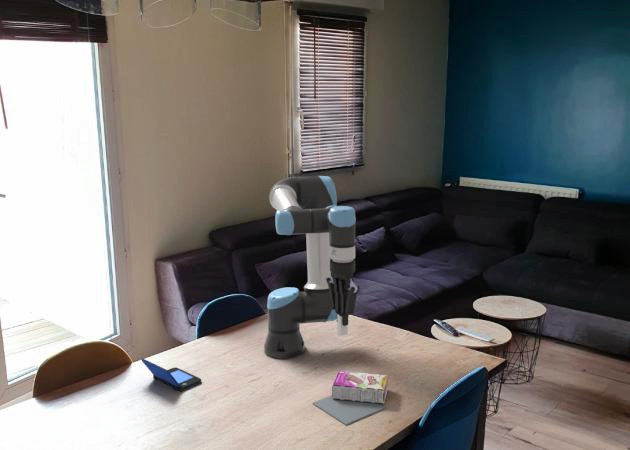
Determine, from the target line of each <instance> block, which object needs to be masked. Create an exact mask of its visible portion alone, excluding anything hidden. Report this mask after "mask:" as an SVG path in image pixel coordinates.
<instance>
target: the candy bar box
mask: <svg viewBox="0 0 630 450" xmlns="http://www.w3.org/2000/svg"><path fill="white" fill-rule="evenodd" d="M389 379H390V378H389V374H379V373H377V374H376V373H367V372H356V371H355V372H354V371H343V370H338V372H337V375H336V377H335V379H334V381H333V383H332V387H331V393H332V394H331V396H332V399H340V400H349V401H359V402H369V403H380V404H382V405H384V404H385V402H386V399H387V394H388V390H389Z"/></svg>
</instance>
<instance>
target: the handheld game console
mask: <svg viewBox="0 0 630 450" xmlns="http://www.w3.org/2000/svg"><path fill="white" fill-rule="evenodd" d="M141 361H142V363H143V364H144V365H145V366H146V368H147V369H148V370H149V371H150V373H151V374H152V375H153V379H154V380H155V381H158V382H159V383H162V384H165V385H168V387H169V388H171V389H173V390H175V391H177V392H180V393H181V392H182V391H183V392H184V391H185V390H187V389H190V388H193V387H194V386H196V385H199V384H200V383H202V378H200V377H198V376H196V375H194V374H191V373H189V372H188V371H185V370H183V369H182V368H180V367H172V368H170V369H166V368H163V367H162V366H159V365H158V364H155V363H154V362H151V361H149V360H147V359H146V358H142V359H141Z"/></svg>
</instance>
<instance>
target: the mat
mask: <svg viewBox="0 0 630 450" xmlns="http://www.w3.org/2000/svg"><path fill="white" fill-rule="evenodd" d="M312 405H314V406H315V407H316V408H318V409H319V410H321V411H323V412H324V413H326V414H327V415H329V416H330V417H332V418H334V419H335V420H337V421H338V422H340V423H341V424H343V425H344V426H348V425H350V424H353V423H355V422H358V421H359V420H362V419H364V418H367V417H369V416H372V415H374V414H376V413H379V412H381V411H383V410H386V409H387V406H385V405H384V404H380V403H369V402H359V401H349V400H340V399H332V395H330V396H327V397H324V398H321V399H318V400H316V401H314V402H312Z"/></svg>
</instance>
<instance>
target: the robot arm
mask: <svg viewBox="0 0 630 450" xmlns="http://www.w3.org/2000/svg"><path fill="white" fill-rule="evenodd" d="M268 194H269V195H268V200H269V203H270V205H271V207H272V208H273V209H275V210H276V212H275V215H274V216H275V220H274V222H275V224H274V225H275V230H276V231H275V232H276V234H278V235H283V236H285V235H286V236H291V235H305V237H306V238H305V239H306V264H307V282H306V284H305V285H304V286H303V291H300V290H299V288H297V287H293V286H292V287H290V286H289V287H281V288H277V289H274V290H272V291H271V292H270V293H269V295H268V297H267V304H266V308H267V323H268V324H267V326H268V327H267V329H268V331H267V334H266V338H265V342H264V346H263V352H264V354H265V355H267V356H268V357H271V358H275V359H291V358H292V359H293V358H297V357H299V356H301V355H303V354H304V352H305V350H306V349H305V341H304V338H303V335H302V333H301V331H300V330H301V329H300V324H312V323H315V324H316V323H327V322H333V321H336V325H337V327H336V328H337V332H336V333H337V336H339V337H343V336H345V335H348V328H349V327H348V325H349V316H350V315H353V314H354V312H355V307H356V301H357V296H358V293H359V290H360V286H359V285H356V284H355V282H354V281H355V280H354V277H353V275H354V273H355V272H356V260H355V259H356V221H357V218H356V210H355V208H353V207H352V206H349V205H337V204H338V199H337V198H338V197H337V190H336V185H335V183H334V181H333V178H331V177H330V176H328V175H326V176H325V175H315V176H314V175H312V176H308V175H307V176H290V177H289V176H288V177H285V178H283V179H281V180H279V181H278V182H276V183H275V184H273V186H272V187H271V188H270V190H269V193H268Z"/></svg>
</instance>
